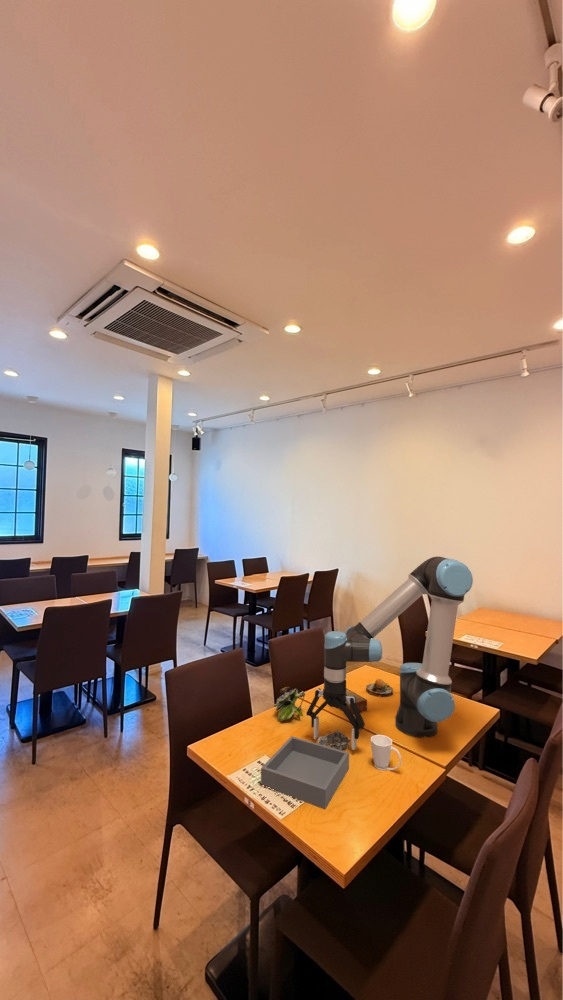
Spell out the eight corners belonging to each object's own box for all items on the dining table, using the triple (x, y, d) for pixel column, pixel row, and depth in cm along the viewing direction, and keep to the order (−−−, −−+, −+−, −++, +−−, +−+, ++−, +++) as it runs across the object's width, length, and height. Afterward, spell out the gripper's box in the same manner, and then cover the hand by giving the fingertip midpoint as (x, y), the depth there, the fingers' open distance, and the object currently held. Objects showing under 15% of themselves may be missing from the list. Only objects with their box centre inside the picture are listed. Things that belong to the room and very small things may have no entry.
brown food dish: (395, 689, 188) (395, 673, 188) (391, 700, 177) (391, 682, 177) (369, 685, 193) (369, 668, 193) (363, 694, 182) (363, 677, 182)
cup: (376, 757, 134) (376, 731, 134) (405, 769, 127) (405, 743, 128) (365, 766, 128) (366, 740, 129) (395, 780, 122) (395, 752, 122)
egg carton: (329, 758, 133) (329, 745, 133) (315, 747, 139) (315, 735, 139) (352, 748, 139) (352, 736, 139) (338, 738, 145) (338, 727, 145)
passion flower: (283, 727, 164) (291, 692, 172) (308, 731, 157) (315, 694, 165) (265, 718, 157) (273, 681, 165) (290, 721, 150) (298, 683, 158)
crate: (349, 769, 127) (349, 752, 127) (325, 809, 109) (325, 789, 110) (291, 751, 136) (291, 736, 137) (260, 785, 119) (261, 768, 119)
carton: (349, 717, 161) (349, 704, 162) (322, 699, 177) (322, 687, 178) (367, 711, 166) (367, 699, 166) (339, 694, 182) (339, 683, 182)
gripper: (374, 682, 137) (373, 746, 136) (306, 668, 149) (305, 728, 148) (367, 690, 131) (367, 758, 130) (297, 675, 142) (296, 738, 141)
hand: (334, 742), depth 139 cm, fingers open, 13 cm apart
